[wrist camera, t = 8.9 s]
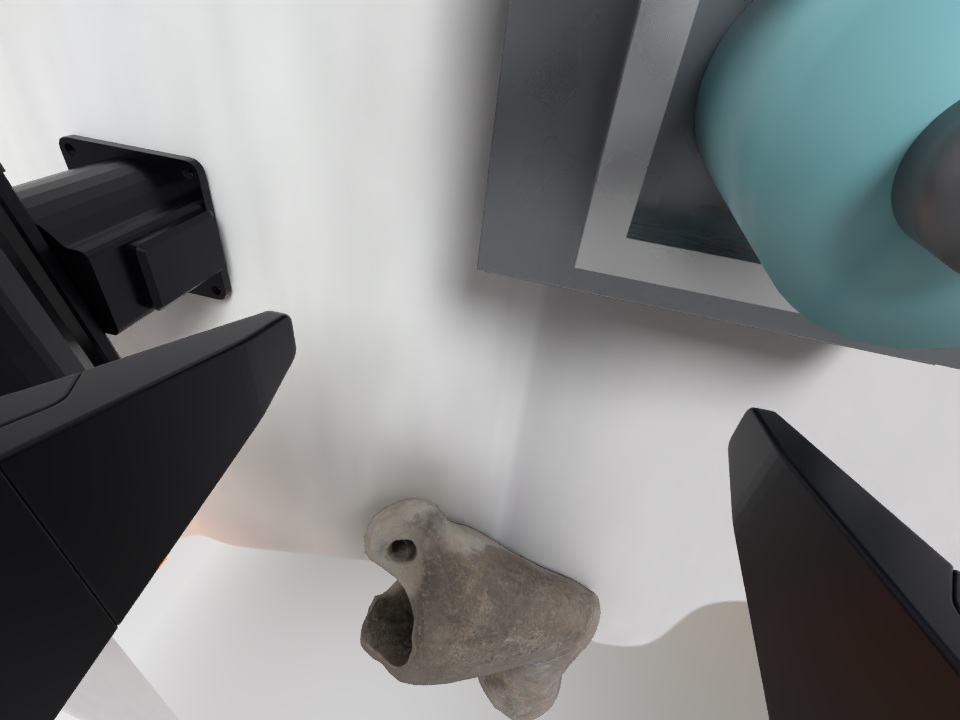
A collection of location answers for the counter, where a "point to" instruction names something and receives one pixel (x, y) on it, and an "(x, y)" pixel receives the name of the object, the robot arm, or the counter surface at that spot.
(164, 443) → the robot arm
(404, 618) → the pipe
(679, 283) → the square aluminium tube flange
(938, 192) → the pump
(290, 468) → the counter surface
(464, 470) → the counter surface
